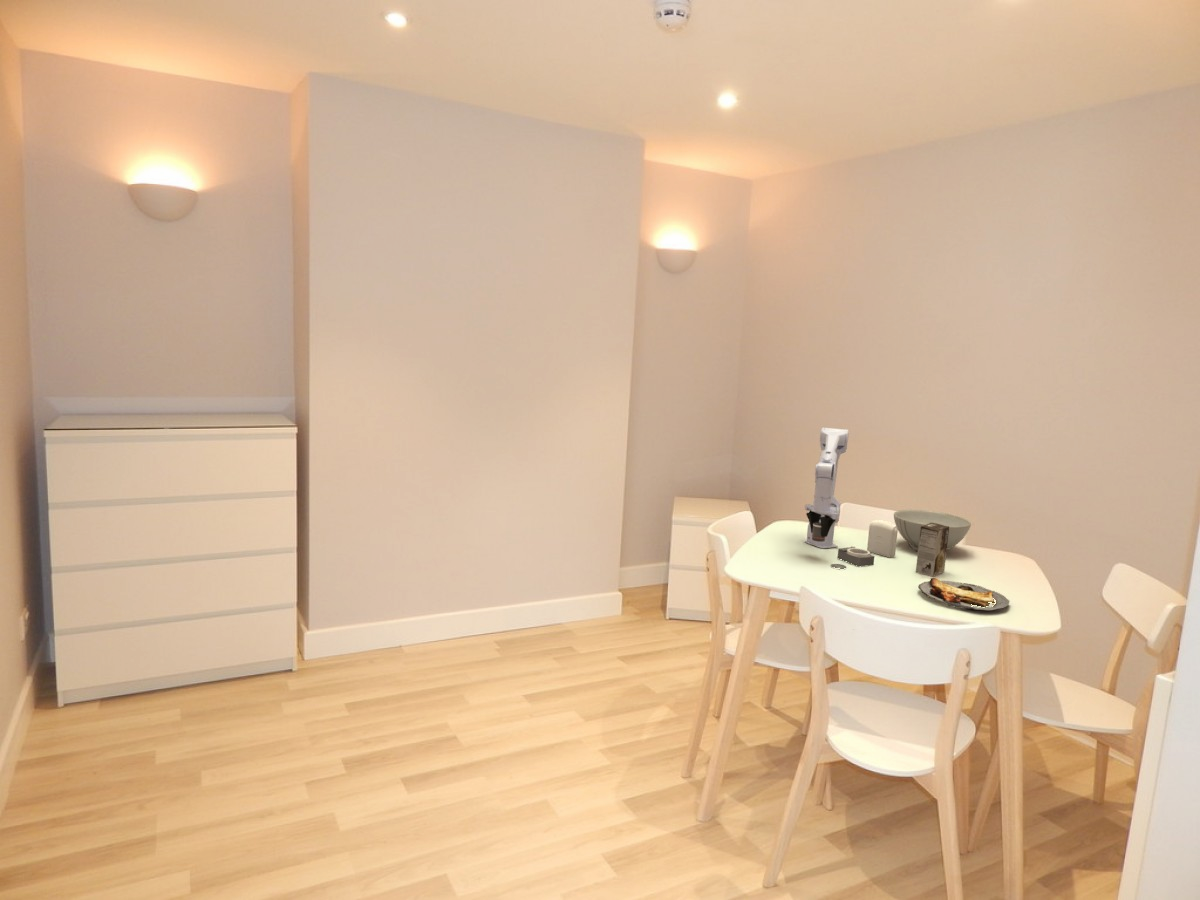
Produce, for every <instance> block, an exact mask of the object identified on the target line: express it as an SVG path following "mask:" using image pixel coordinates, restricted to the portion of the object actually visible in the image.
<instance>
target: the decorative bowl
mask: <svg viewBox="0 0 1200 900" xmlns="http://www.w3.org/2000/svg"><path fill="white" fill-rule="evenodd" d="M893 519H894V523H895V524H894V525H896V526H897V528H898V533H899V534H900V536H901V538H903V539H904V541H906V542H907V543H908V544H910V548H911V549H913V550H915V551H917V550H918V548H919V539H920V531H921V526H924V525H926V524H929V523H937V524H941V525H944V526H949V534H948V543H947V550H949V549H951V548H954V547H955V546H957V545H958V544H960V542H961V541H962V540H963V539H964V538H965V537H966V535H967V534H968V532H969V530H970V528H971V526H972V523H971V522H970V521H969V519H966V518H963V517H961V516H958V515H954V514H949V513H946V512H945V513H944V512H940V511H934V510H933V511H931V510H925V509H924V510H923V509H902V510H896V511H894V513H893Z"/></svg>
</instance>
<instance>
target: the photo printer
mask: <svg viewBox="0 0 1200 900" xmlns="http://www.w3.org/2000/svg"><path fill="white" fill-rule="evenodd" d="M898 533H899V531H898V528H897V526H896V524H893V522H890V521H888V520H887V521H886V520H882V519H878V520H877V519H875V520H872V521H870V523H869V527H868V538H867V546H866V547H867V548H866V550H867V551H869V552H870V553H873V554H876V555H880V556H884V557H887V558H894V557H895V556H896V551H897V550H896V549H897V541H898Z"/></svg>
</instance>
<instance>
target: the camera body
mask: <svg viewBox="0 0 1200 900" xmlns="http://www.w3.org/2000/svg"><path fill="white" fill-rule="evenodd" d="M836 558H839V559H838V560H840V559H842V560H841V561H843V560H844V561H843V562H845V561H847V562H846V563H848V562H849V563H848V564H851V563H852V564H851V565H853V564H854V566H856V565H857V566H856V567H858V566H861V567H866V566H865V565H868V566H873V565H874V563H875V556H874V555H871V552H869V551H867V549H863V548H859V547H858V548H857V547H856V546H854V545H851V546H848V547H841V548H838V549H837V557H836Z"/></svg>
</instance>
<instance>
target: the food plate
mask: <svg viewBox="0 0 1200 900" xmlns="http://www.w3.org/2000/svg"><path fill="white" fill-rule="evenodd" d="M917 588H918V589H919V590H920V591H921V593H922V594H924V595H925V596H927V597H929V598H933V599H934V600H936V601H941V602H943V603H945V604H946V605H949V606H951V607H954V608H963V609H969V610H971V609H972V610H979V611H980V610H981V611H993V610H997V609H998V610H999V609H1004V608H1006V607H1007V606H1009V604H1010V600H1009V599H1008V598H1007V597H1006V596H1005V595H1003V594H1002V593H1000V592H997V591H995V590H991V589H988V588H986V587H983V586H981V585H976V584H972V583H965V582H958V581H953V580H952V581H951V580H940V579H939V578H936V577H931V578H930V580H927V581H923V582H921V583H919V584H918V587H917ZM993 598H994V599H995V600H996V604H995V605H994V606H993V607H992V606H990V603H988V602H992V603H995V602H994V599H993ZM971 604H972V605H977V607H974V606H973V607H971V606H972V605H971ZM978 606H981V607H978ZM986 606H989V607H986ZM982 607H985V608H982Z"/></svg>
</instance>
